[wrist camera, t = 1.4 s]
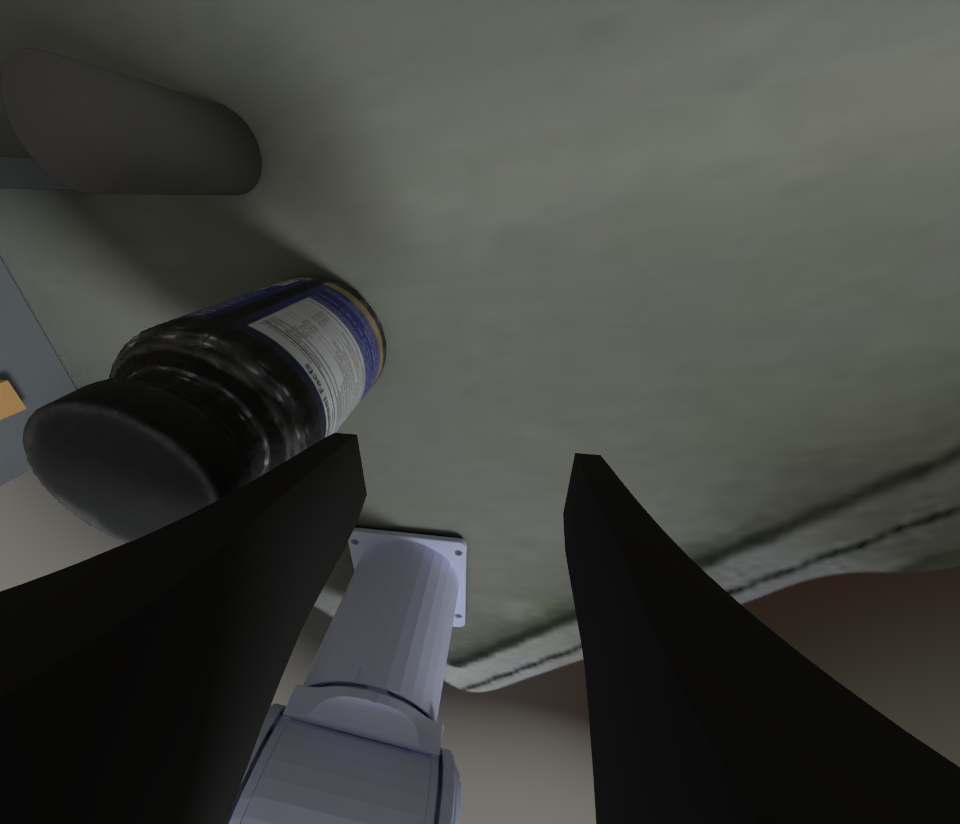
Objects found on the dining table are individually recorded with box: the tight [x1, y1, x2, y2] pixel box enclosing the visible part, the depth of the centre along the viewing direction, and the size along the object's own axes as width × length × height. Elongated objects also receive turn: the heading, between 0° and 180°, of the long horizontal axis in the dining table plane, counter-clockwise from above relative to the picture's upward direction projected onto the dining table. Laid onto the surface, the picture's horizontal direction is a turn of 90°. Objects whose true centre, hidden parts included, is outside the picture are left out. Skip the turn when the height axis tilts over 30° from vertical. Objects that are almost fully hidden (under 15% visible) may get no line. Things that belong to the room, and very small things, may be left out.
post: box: [0, 49, 261, 195], centre depth 12 cm, size 3×3×6 cm
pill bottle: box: [23, 276, 386, 543], centre depth 14 cm, size 6×6×11 cm
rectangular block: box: [0, 156, 76, 485], centre depth 17 cm, size 14×7×6 cm, turn 178°
